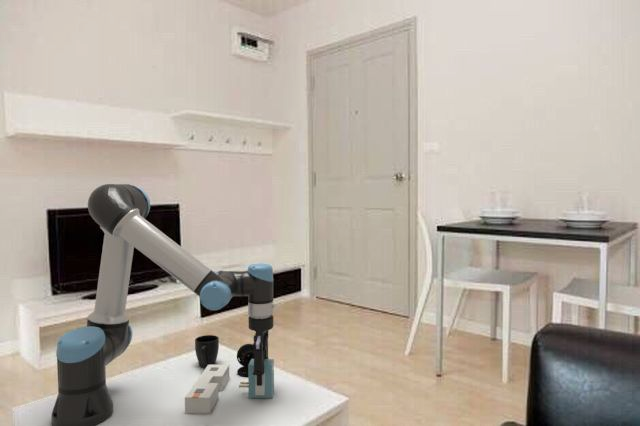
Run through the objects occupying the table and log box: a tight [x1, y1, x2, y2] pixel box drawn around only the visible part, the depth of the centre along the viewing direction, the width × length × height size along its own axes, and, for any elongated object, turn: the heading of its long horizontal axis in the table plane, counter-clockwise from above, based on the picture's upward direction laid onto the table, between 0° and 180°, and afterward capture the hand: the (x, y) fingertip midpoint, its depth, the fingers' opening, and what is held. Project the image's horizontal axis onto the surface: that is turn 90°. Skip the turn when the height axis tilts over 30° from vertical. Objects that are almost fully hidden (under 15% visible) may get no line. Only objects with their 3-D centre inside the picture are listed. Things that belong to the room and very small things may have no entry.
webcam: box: [236, 343, 254, 378], centre depth 154 cm, size 8×8×10 cm
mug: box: [194, 334, 220, 369], centre depth 160 cm, size 8×12×10 cm
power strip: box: [184, 364, 230, 414], centre depth 142 cm, size 7×32×5 cm, turn 178°
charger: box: [238, 358, 275, 399], centre depth 138 cm, size 10×5×10 cm, turn 88°
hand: (261, 390), depth 138 cm, fingers closed on charger, 5 cm apart
